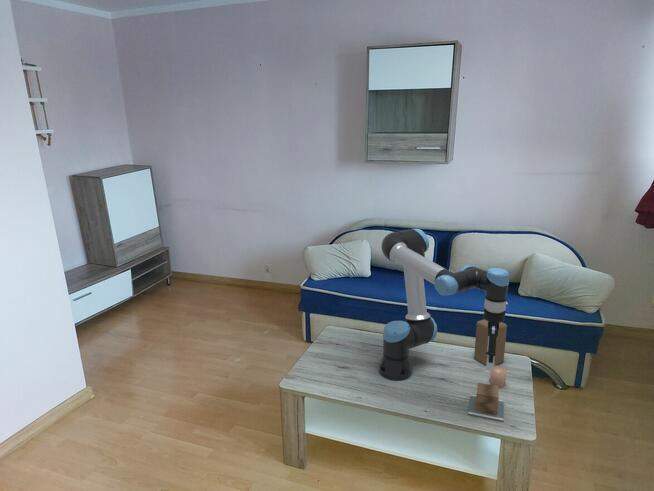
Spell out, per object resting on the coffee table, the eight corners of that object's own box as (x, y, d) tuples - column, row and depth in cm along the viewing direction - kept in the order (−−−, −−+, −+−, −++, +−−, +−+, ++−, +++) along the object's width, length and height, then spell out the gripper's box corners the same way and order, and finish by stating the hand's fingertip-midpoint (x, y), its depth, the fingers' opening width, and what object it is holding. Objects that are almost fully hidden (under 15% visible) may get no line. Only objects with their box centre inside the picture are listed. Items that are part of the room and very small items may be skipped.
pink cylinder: (489, 386, 189) (490, 371, 187) (489, 378, 195) (490, 364, 193) (505, 389, 187) (506, 374, 185) (505, 381, 192) (506, 366, 190)
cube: (475, 411, 172) (476, 393, 170) (476, 399, 179) (477, 382, 177) (496, 415, 169) (498, 397, 167) (497, 403, 176) (498, 386, 174)
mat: (468, 414, 170) (468, 412, 170) (470, 396, 182) (470, 394, 182) (503, 422, 166) (504, 420, 166) (503, 402, 178) (503, 400, 177)
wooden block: (489, 368, 203) (492, 329, 197) (473, 358, 211) (476, 320, 206) (504, 362, 207) (508, 324, 202) (488, 353, 216) (491, 316, 210)
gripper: (506, 324, 150) (500, 379, 156) (505, 298, 173) (500, 346, 178) (483, 321, 153) (478, 375, 158) (485, 296, 175) (481, 343, 181)
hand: (490, 360), depth 168 cm, fingers open, 13 cm apart
